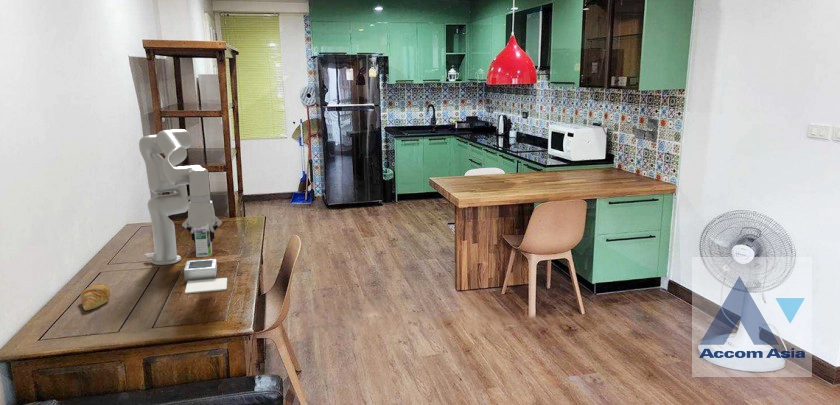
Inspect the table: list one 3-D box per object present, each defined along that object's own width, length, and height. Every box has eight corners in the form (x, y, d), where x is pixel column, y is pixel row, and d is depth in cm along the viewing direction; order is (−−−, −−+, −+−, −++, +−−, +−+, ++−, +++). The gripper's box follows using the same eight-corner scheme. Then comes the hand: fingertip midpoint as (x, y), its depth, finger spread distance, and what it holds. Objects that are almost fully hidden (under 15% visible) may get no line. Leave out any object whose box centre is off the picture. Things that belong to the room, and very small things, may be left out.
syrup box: (196, 257, 229) (193, 223, 225) (198, 252, 234) (195, 219, 231) (210, 256, 230) (208, 222, 227) (212, 252, 235) (210, 218, 232)
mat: (184, 293, 227) (184, 292, 227) (187, 282, 239) (187, 281, 239) (226, 290, 232) (226, 288, 231) (227, 279, 244) (227, 277, 243)
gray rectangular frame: (185, 281, 240) (184, 270, 239) (188, 266, 258) (188, 256, 257) (215, 278, 244) (215, 267, 243) (217, 264, 261) (216, 254, 260)
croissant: (96, 320, 209) (104, 302, 208) (68, 311, 206) (76, 292, 205) (112, 297, 229) (120, 281, 228) (87, 288, 226) (95, 271, 225)
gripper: (176, 201, 221) (180, 245, 225) (222, 199, 226) (225, 242, 230) (178, 197, 228) (181, 240, 232) (223, 195, 233) (225, 237, 237)
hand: (203, 240), depth 231 cm, fingers closed on syrup box, 5 cm apart
